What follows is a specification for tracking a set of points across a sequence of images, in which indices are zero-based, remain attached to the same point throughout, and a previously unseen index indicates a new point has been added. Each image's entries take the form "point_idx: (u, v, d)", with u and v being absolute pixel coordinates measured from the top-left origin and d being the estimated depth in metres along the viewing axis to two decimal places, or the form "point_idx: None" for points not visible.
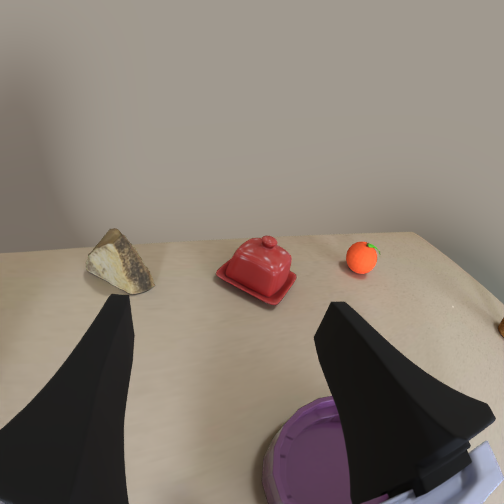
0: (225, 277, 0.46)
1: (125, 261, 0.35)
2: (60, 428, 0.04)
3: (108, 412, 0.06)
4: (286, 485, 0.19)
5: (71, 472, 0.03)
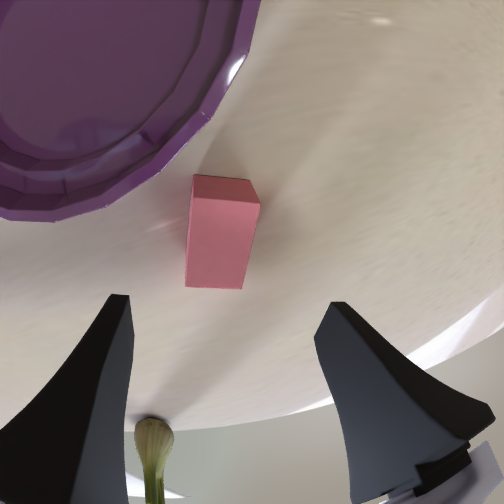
0: None
1: None
2: (60, 428, 0.04)
3: (108, 412, 0.06)
4: None
5: (71, 472, 0.03)
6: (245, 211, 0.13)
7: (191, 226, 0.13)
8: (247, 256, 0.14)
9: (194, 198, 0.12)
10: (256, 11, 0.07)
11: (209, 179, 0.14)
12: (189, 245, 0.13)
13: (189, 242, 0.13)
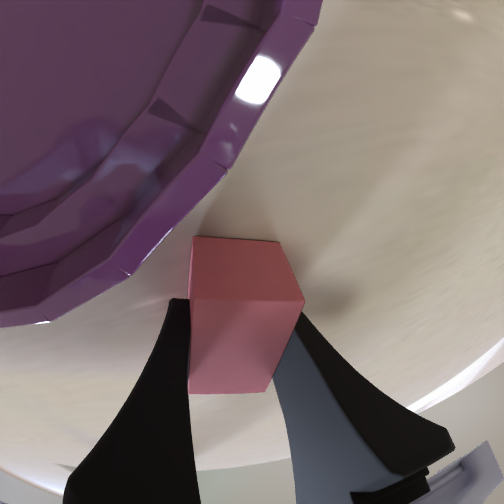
0: None
1: None
2: (162, 442, 0.04)
3: None
4: None
5: (191, 486, 0.03)
6: (279, 313, 0.08)
7: (192, 335, 0.08)
8: (276, 362, 0.09)
9: (195, 300, 0.07)
10: None
11: (217, 246, 0.09)
12: (191, 356, 0.08)
13: (190, 352, 0.08)
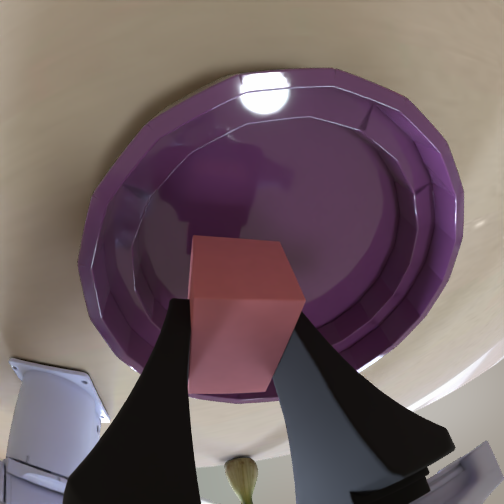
0: None
1: None
2: (162, 442, 0.04)
3: None
4: (129, 265, 0.11)
5: (191, 485, 0.03)
6: (279, 312, 0.08)
7: (192, 334, 0.08)
8: (277, 361, 0.09)
9: (195, 298, 0.07)
10: (440, 293, 0.13)
11: (218, 245, 0.09)
12: (191, 355, 0.08)
13: (190, 352, 0.08)
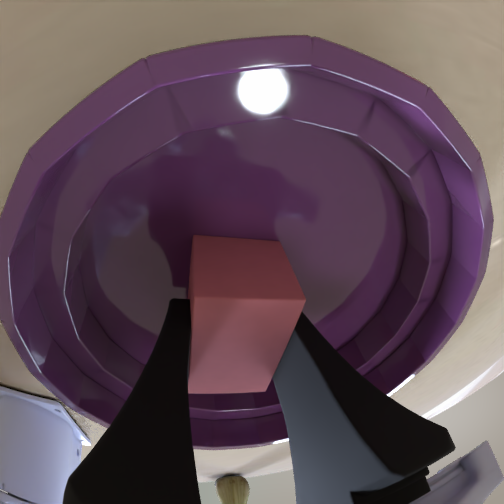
0: None
1: None
2: (162, 442, 0.04)
3: None
4: (66, 313, 0.08)
5: (191, 485, 0.03)
6: (280, 312, 0.08)
7: (193, 334, 0.08)
8: (277, 361, 0.09)
9: (196, 298, 0.07)
10: (451, 336, 0.10)
11: (218, 245, 0.09)
12: (191, 355, 0.08)
13: (191, 351, 0.08)
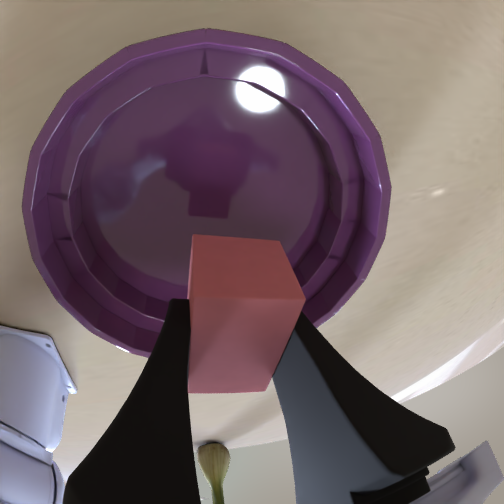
0: None
1: None
2: (162, 442, 0.04)
3: None
4: (67, 215, 0.12)
5: (191, 485, 0.03)
6: (280, 311, 0.08)
7: (192, 333, 0.08)
8: (277, 361, 0.09)
9: (195, 297, 0.07)
10: (377, 253, 0.14)
11: (218, 244, 0.09)
12: (190, 354, 0.08)
13: (190, 351, 0.08)
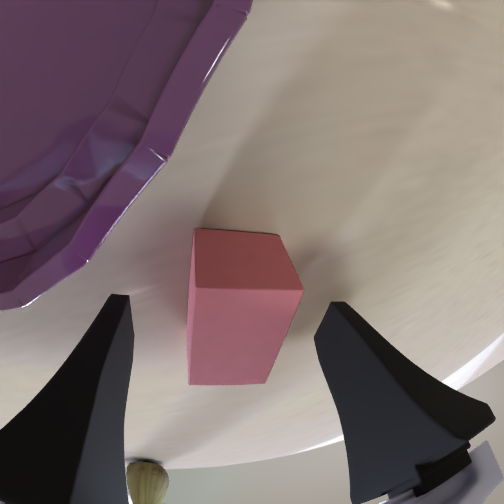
0: None
1: None
2: (61, 428, 0.04)
3: (108, 412, 0.06)
4: None
5: (71, 472, 0.03)
6: (278, 302, 0.08)
7: (194, 324, 0.08)
8: (276, 352, 0.09)
9: (197, 287, 0.07)
10: None
11: (219, 238, 0.09)
12: (192, 345, 0.09)
13: (192, 341, 0.08)
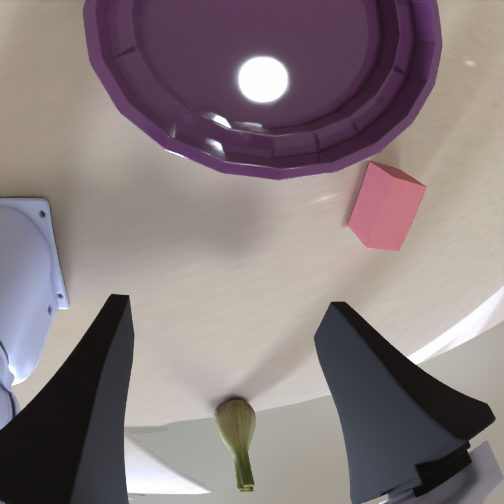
0: None
1: None
2: (60, 428, 0.04)
3: (108, 412, 0.06)
4: None
5: (71, 472, 0.03)
6: (417, 191, 0.16)
7: (387, 198, 0.16)
8: (410, 224, 0.17)
9: (394, 178, 0.15)
10: (439, 58, 0.10)
11: (383, 166, 0.17)
12: (381, 213, 0.16)
13: (382, 211, 0.16)
